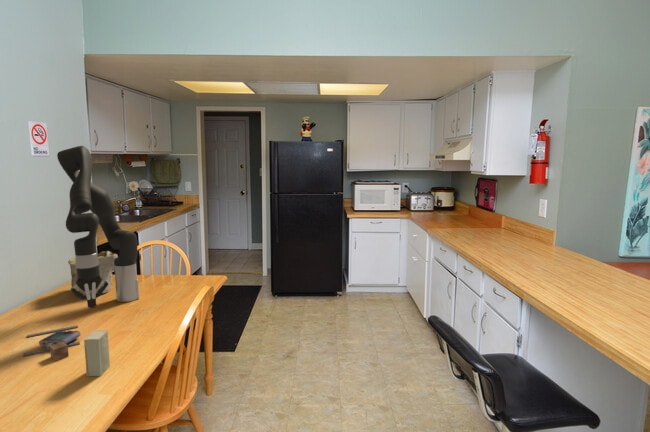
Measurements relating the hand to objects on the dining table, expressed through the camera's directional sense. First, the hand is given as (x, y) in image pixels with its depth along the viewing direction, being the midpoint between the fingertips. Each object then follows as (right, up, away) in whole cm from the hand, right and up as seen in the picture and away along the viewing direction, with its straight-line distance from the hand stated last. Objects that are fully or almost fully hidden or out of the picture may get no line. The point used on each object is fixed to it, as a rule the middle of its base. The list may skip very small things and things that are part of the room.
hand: (92, 307), depth 150 cm
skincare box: (+20, -13, -30) cm, 39 cm away
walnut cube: (+2, -12, -21) cm, 24 cm away
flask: (-4, -8, -7) cm, 12 cm away
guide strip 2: (-4, -11, -16) cm, 20 cm away
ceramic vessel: (-27, -3, +45) cm, 52 cm away
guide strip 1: (-14, -9, -2) cm, 16 cm away
